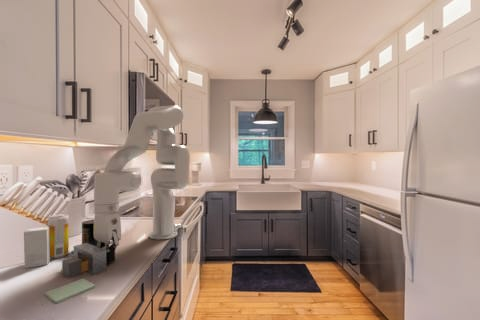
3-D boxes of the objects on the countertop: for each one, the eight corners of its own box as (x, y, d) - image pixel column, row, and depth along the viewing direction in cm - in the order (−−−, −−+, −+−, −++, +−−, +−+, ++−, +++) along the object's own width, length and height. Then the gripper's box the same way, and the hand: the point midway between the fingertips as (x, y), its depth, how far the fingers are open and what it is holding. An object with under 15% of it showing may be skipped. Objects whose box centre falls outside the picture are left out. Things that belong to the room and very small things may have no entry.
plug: (108, 258, 85) (108, 245, 85) (114, 261, 82) (114, 248, 82) (62, 274, 73) (62, 259, 73) (68, 278, 71) (68, 262, 71)
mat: (82, 280, 70) (82, 278, 70) (94, 287, 66) (95, 285, 66) (45, 294, 62) (45, 292, 62) (56, 303, 58) (56, 301, 58)
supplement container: (95, 250, 93) (96, 223, 93) (77, 250, 92) (77, 223, 92) (104, 244, 100) (104, 219, 100) (87, 244, 99) (87, 219, 99)
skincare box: (50, 260, 83) (50, 225, 83) (47, 265, 79) (47, 229, 79) (27, 263, 80) (27, 228, 80) (23, 269, 76) (23, 231, 76)
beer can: (65, 251, 91) (65, 212, 91) (70, 255, 88) (70, 214, 88) (45, 256, 87) (46, 215, 87) (50, 260, 83) (50, 217, 83)
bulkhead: (86, 261, 83) (86, 242, 83) (106, 270, 76) (106, 250, 76) (73, 265, 79) (73, 246, 79) (92, 275, 72) (93, 254, 72)
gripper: (130, 209, 81) (130, 263, 81) (104, 204, 90) (104, 252, 90) (108, 213, 74) (108, 271, 74) (83, 207, 84) (82, 259, 83)
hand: (106, 260), depth 82 cm, fingers closed on plug, 4 cm apart
